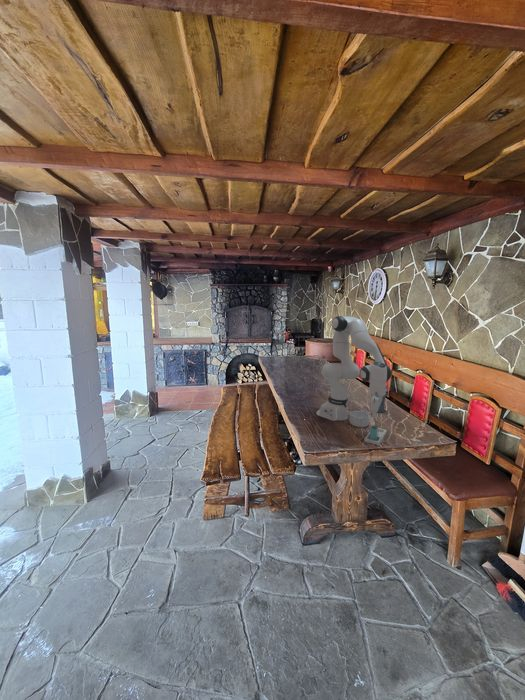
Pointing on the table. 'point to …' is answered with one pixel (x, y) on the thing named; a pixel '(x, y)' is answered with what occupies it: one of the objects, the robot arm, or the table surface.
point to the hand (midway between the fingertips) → (375, 413)
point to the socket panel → (380, 436)
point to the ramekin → (359, 418)
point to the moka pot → (383, 403)
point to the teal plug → (374, 433)
